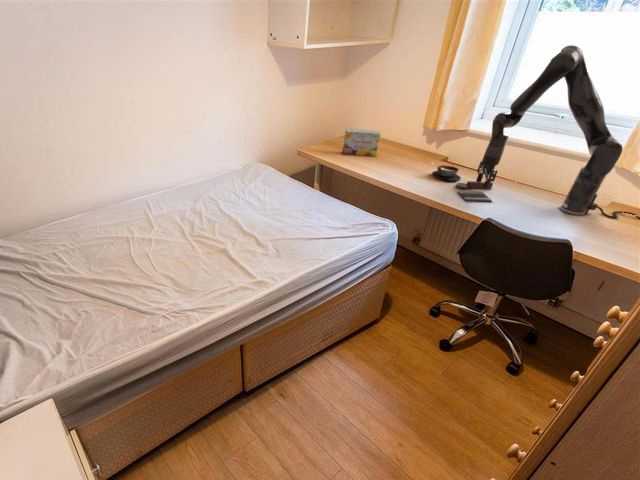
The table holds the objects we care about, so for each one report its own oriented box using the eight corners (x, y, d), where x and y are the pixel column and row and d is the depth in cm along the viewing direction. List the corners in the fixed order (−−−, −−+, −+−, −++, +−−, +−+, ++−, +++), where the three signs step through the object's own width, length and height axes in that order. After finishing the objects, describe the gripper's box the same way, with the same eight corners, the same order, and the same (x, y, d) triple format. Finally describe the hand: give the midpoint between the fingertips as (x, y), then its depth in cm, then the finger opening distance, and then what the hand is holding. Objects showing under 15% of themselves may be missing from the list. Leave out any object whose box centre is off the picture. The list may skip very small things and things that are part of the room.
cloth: (481, 193, 194) (482, 191, 194) (491, 202, 185) (492, 200, 185) (457, 192, 195) (457, 190, 195) (465, 201, 186) (466, 199, 186)
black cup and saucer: (452, 184, 204) (457, 171, 200) (424, 176, 214) (427, 163, 209) (464, 177, 212) (469, 164, 208) (436, 170, 222) (440, 157, 218)
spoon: (487, 186, 202) (489, 180, 200) (492, 190, 197) (494, 184, 195) (454, 185, 203) (456, 179, 201) (458, 189, 198) (460, 183, 197)
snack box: (342, 154, 247) (345, 130, 239) (342, 151, 252) (345, 128, 243) (375, 157, 242) (380, 133, 234) (375, 154, 247) (380, 130, 238)
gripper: (479, 149, 196) (468, 179, 205) (492, 158, 184) (480, 189, 193) (494, 150, 195) (483, 179, 204) (508, 159, 184) (495, 190, 193)
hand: (481, 184), depth 199 cm, fingers open, 8 cm apart
